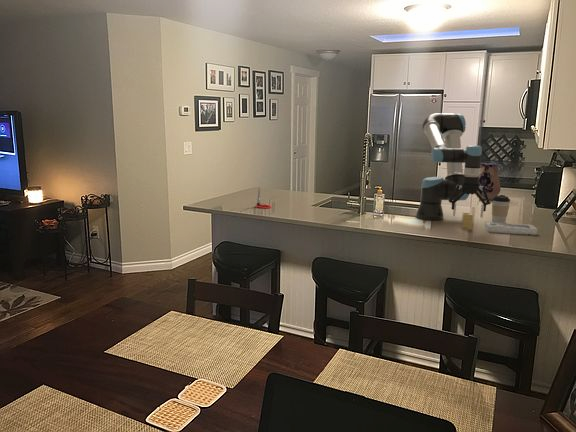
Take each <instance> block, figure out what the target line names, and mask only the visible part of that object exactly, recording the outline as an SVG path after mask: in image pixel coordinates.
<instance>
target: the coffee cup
mask: <svg viewBox="0 0 576 432" xmlns="http://www.w3.org/2000/svg"><path fill="white" fill-rule="evenodd" d="M510 202H511V199H510V198H509V196H506V195H505V194H504V195H503V194H498V196H495V197H494V198H493V199H492V205H491V211H492V212H491V222H493V223H507V222H506V221H507V217H508V213H509V209H510Z"/></svg>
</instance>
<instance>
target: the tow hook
mask: <svg viewBox="0 0 576 432" xmlns="http://www.w3.org/2000/svg"><path fill="white" fill-rule="evenodd" d="M260 189H261V187H260V186H258V190H257V199H256V200H257V202H256V205H255V207H254V208H255V209H257V208H258V209H262V210H263V209H264V210H268V209H272V206H271V205H270V204H261V199H260V197H261V190H260Z"/></svg>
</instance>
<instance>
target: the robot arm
mask: <svg viewBox="0 0 576 432" xmlns="http://www.w3.org/2000/svg"><path fill="white" fill-rule="evenodd" d="M466 123H467V121H466V118H465V116H464V115H463V114H461V113H456V112H454V113H453V112H452V113H450V112H449V113H445V112H443V113H442V112H441V113H440V112H439V113H438V112H437V113H436V112H435V113H432V114H430V115H429V116H427V117H426V118H425V119H424V120H423V123H422V128H421V129H422V131H423V134H424V135H425V136H427V137H426V138H427V139H428V142H429V144H430V147H431V152H430V159H431V161H432V162H433V163H446V173H447V174H446V176H445V177H443V176H430V177H428V176H427V177H425V178H423V179H422V181H421V186H420V188H421V189H420V202H419V206H418V208H417V210H416V213H415V217H416V218H418V219H420V220H424V221H425V220H426V221H441V220H443V219H444V212H443V207H442V201H448V203H451V210H453V211H452V216H453V217H456V213H457V212H456V211H457V202H458V201H465V200H467V199H468V198H469V196H470V195H475V194H476V195H477V196H476V195H475V196H476V197H477V198H478V199H479V201H480V202H481V203H482V204H481V206H480V218H481V219H483V218H484V212H486V210H487V205H490V204H491V200H489V199H488V196H487V194H486V192H485V186H479V177H478V176H479V175H480V168H481V166H480V164H481V163H482V153H483V152H482V151H483V149H482V146H481V145H467V146H466V147H464V148H462V145H461V144H462V142H461V138H462V136H463V134H464V133H465V131H466V126H467V124H466ZM463 163H464V165H463ZM463 167H464V168H463ZM478 189H480V190H482V192H483V195H484V197H485V199H486V200H485V199H482V197H481V196H480V195H479V193H478V192H477V191H478Z"/></svg>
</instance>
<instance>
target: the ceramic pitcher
mask: <svg viewBox="0 0 576 432" xmlns="http://www.w3.org/2000/svg"><path fill="white" fill-rule="evenodd" d="M499 166H500V164H499V163H495V162H481V164H480V175H479V176H478V177H479V186H485V192H486V194H487V196H488V199H489V201H491V200H492V199H493V198H494V197H495V196H499V195H500V192H501V181H500V176H499V172H498V167H499ZM477 192H478V193H479V195H480V196H481V197H482V199H483V200H484V201H486V199H485V197H484V195H483V192H482V190H480V189H478V191H477ZM474 195H475V196H476V197H477V195H476V194H474ZM492 201H493V200H492Z"/></svg>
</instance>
